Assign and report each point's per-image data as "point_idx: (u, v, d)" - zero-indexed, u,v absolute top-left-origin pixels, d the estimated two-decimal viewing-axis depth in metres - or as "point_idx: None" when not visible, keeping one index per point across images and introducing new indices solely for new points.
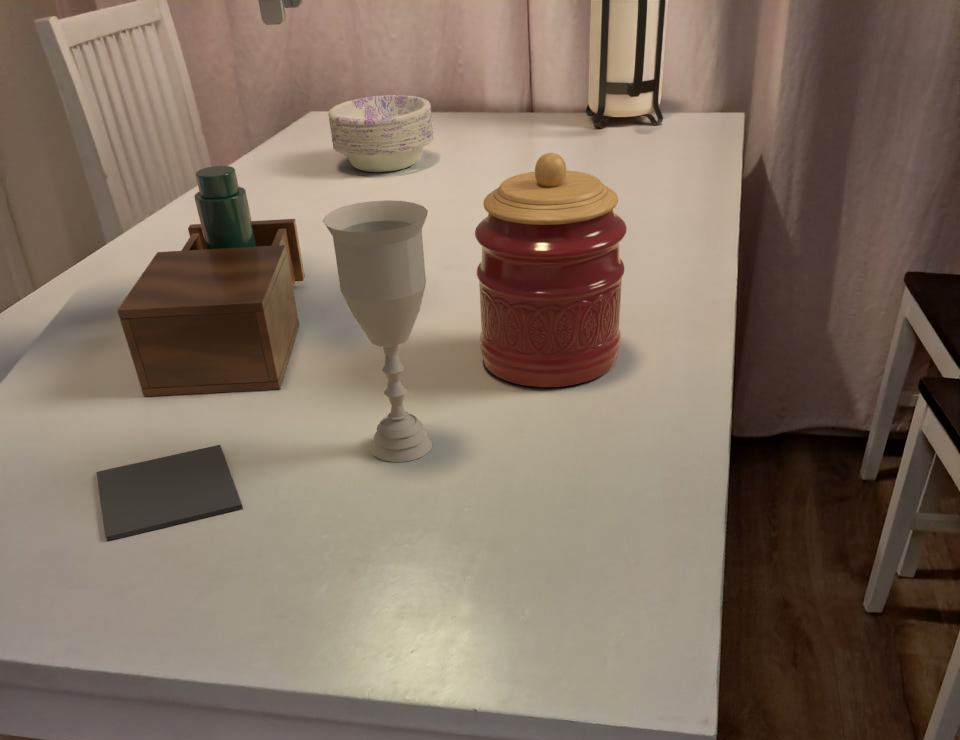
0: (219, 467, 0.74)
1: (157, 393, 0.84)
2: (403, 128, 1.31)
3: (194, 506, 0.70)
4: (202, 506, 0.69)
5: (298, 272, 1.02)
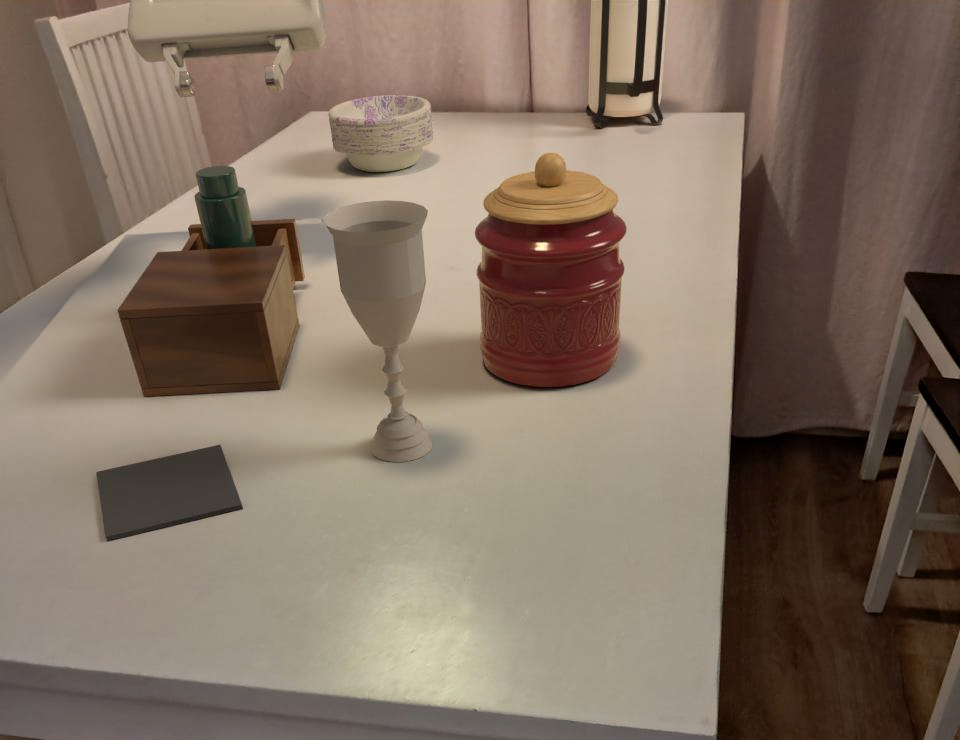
0: (219, 467, 0.74)
1: (157, 393, 0.84)
2: (403, 128, 1.31)
3: (194, 506, 0.70)
4: (202, 506, 0.69)
5: (298, 272, 1.02)
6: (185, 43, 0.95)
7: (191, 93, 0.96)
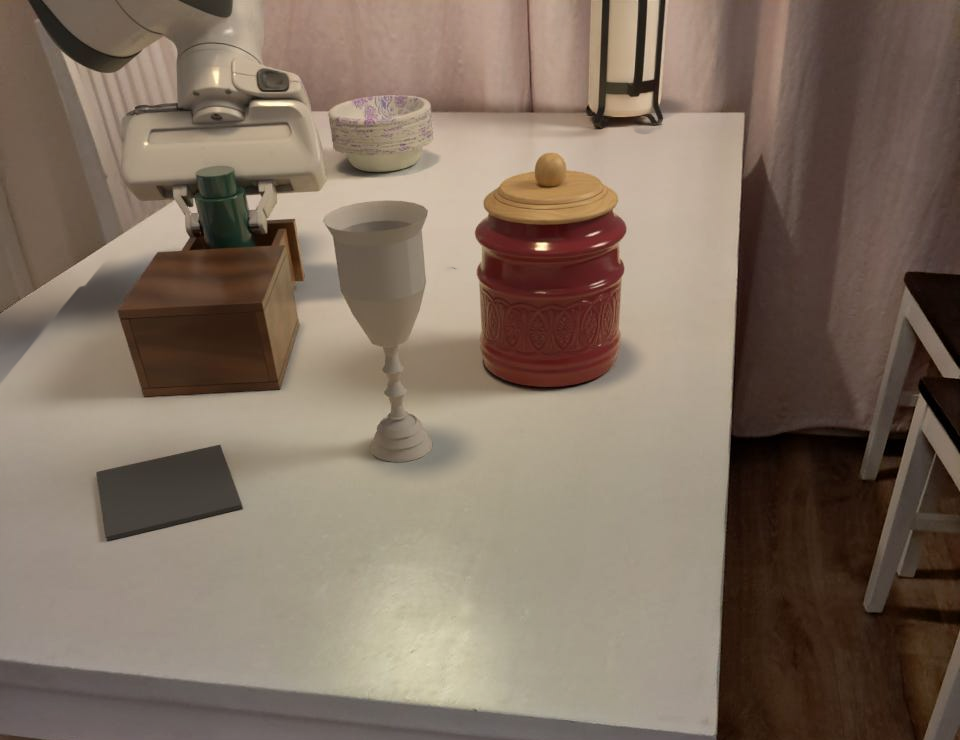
0: (219, 467, 0.74)
1: (157, 393, 0.84)
2: (403, 128, 1.31)
3: (194, 506, 0.70)
4: (202, 506, 0.69)
5: (298, 272, 1.02)
6: (196, 183, 0.93)
7: (202, 234, 0.93)
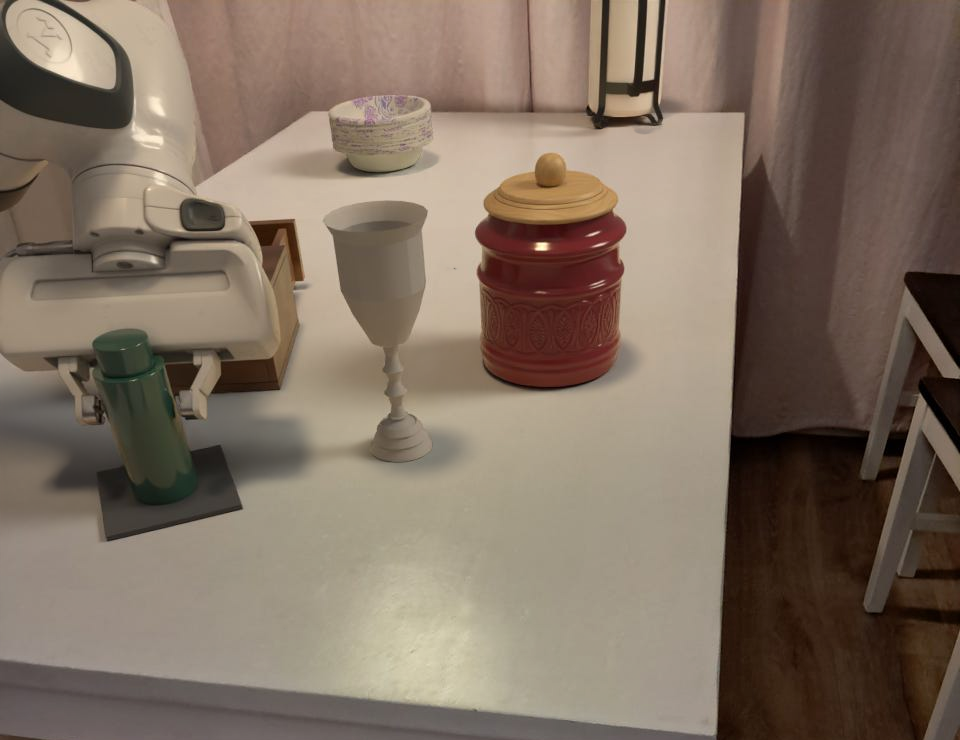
0: (219, 467, 0.74)
1: None
2: (403, 128, 1.31)
3: (194, 506, 0.70)
4: (202, 506, 0.69)
5: (298, 272, 1.02)
6: None
7: (100, 422, 0.67)
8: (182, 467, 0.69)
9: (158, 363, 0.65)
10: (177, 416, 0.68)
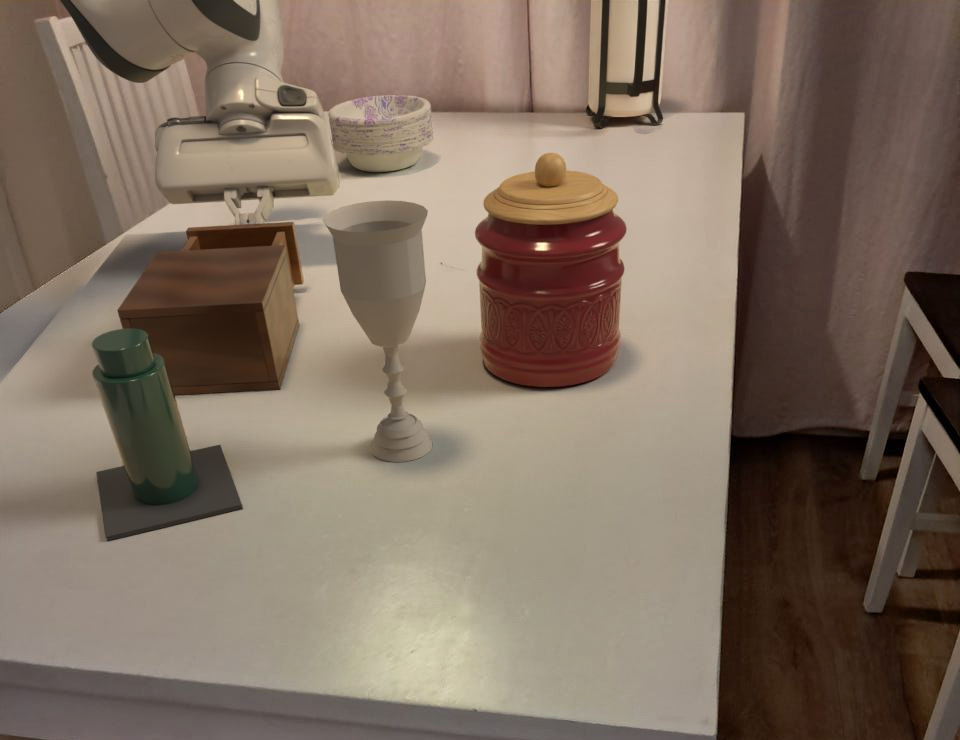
0: (219, 467, 0.74)
1: None
2: (403, 128, 1.31)
3: (194, 506, 0.70)
4: (202, 506, 0.69)
5: (297, 275, 1.01)
6: (244, 187, 1.03)
7: None
8: (182, 467, 0.69)
9: (158, 363, 0.65)
10: (177, 416, 0.68)
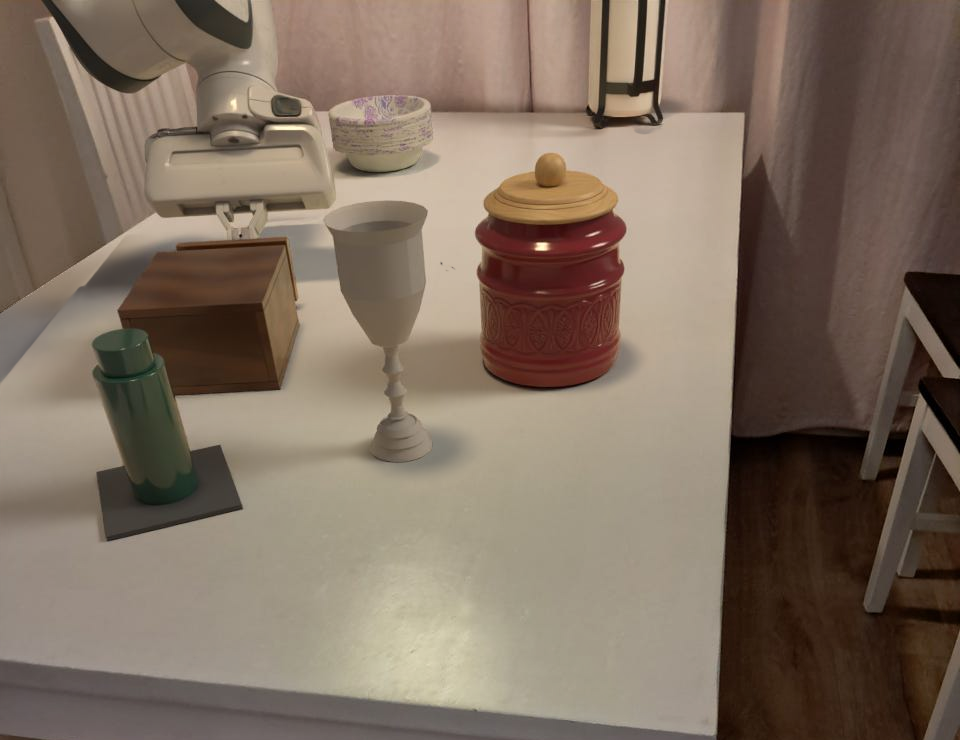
0: (219, 467, 0.74)
1: None
2: (403, 128, 1.31)
3: (194, 506, 0.70)
4: (202, 506, 0.69)
5: None
6: (237, 200, 0.99)
7: None
8: (182, 467, 0.69)
9: (158, 363, 0.65)
10: (177, 416, 0.68)
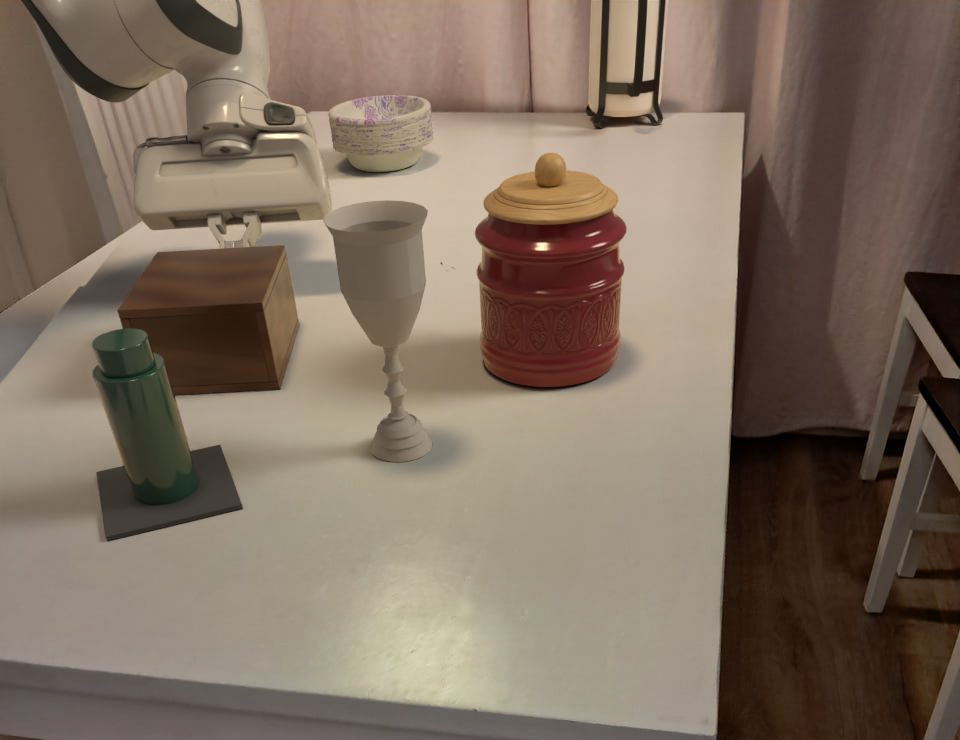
0: (219, 467, 0.74)
1: None
2: (403, 128, 1.31)
3: (194, 506, 0.70)
4: (202, 506, 0.69)
5: None
6: (229, 212, 0.96)
7: None
8: (182, 467, 0.69)
9: (158, 363, 0.65)
10: (177, 416, 0.68)
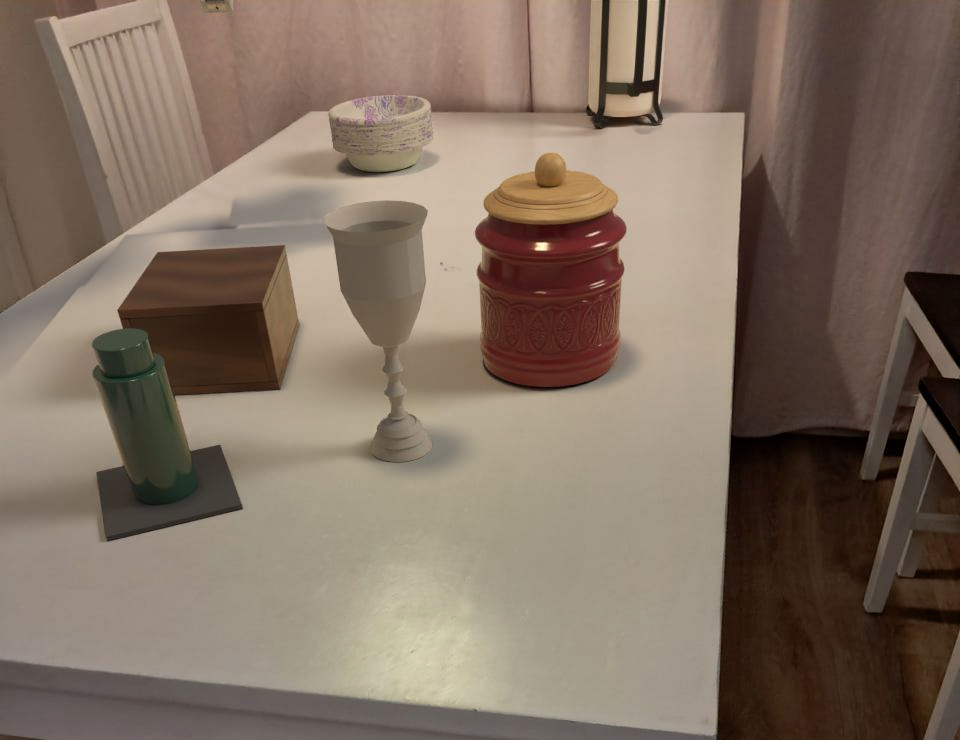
0: (219, 467, 0.74)
1: None
2: (403, 128, 1.31)
3: (194, 506, 0.70)
4: (202, 506, 0.69)
5: None
6: None
7: (216, 8, 0.93)
8: (182, 467, 0.69)
9: (158, 363, 0.65)
10: (177, 416, 0.68)
